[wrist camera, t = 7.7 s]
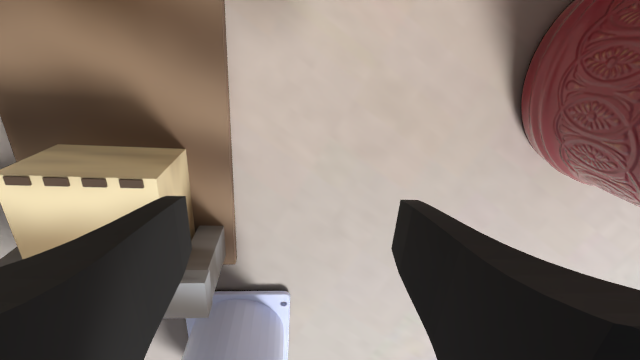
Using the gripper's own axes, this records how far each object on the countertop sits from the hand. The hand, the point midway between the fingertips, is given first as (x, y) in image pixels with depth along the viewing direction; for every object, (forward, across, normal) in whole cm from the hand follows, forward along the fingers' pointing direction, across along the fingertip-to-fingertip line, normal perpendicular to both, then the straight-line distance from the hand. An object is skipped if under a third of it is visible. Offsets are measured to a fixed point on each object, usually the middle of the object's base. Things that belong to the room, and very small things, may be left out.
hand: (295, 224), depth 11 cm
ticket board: (+10, +10, 0) cm, 14 cm away
